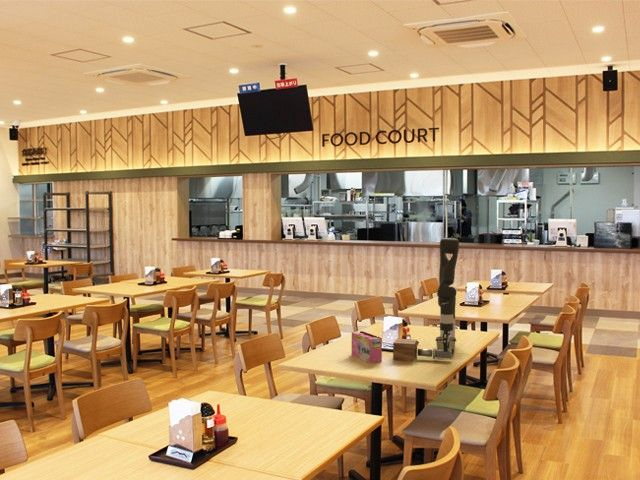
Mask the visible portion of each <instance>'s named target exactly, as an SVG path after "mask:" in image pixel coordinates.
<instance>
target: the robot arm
mask: <svg viewBox="0 0 640 480" xmlns="http://www.w3.org/2000/svg"><path fill="white" fill-rule="evenodd" d="M459 249H460V242H459V239H458V238H454V237H453V238H451V237H443V238H440V242H439V257H440V258H439V275H438V277H439V282H438V283H439V286H438V288H437V293H436V295H437V303H438V306H439V308H440V309H439V310H440V313H439V315H440V316H439V332H440V333H439V337H440V336H443V345H444V352H447V351H448V348H449V341H450V337H454V338H456V303H457V300H456V299H457V288H456V287H454V286H452V285H454V283H455V278H456V277H455V273H456V266H457V262H458V257H459ZM448 254H449V255H452V256H451V258H450V259H449V258H448V256H447V255H448ZM444 342H445V343H444Z"/></svg>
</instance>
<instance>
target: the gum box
mask: <svg viewBox="0 0 640 480" xmlns="http://www.w3.org/2000/svg"><path fill="white" fill-rule="evenodd" d="M382 347H383V338H381V337H379V336H377V335H374V334H371V333H368V332H366V331H363V330H360V331H359V332H353V331H351V356H354V357H356V358H358V359H361V360H363V361H365V362H367V363H370V364H373V363H381V362H382V360H383V357H382V356H383V354H382V353H383V351H382V350H383V348H382Z"/></svg>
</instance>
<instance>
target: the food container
mask: <svg viewBox="0 0 640 480" xmlns="http://www.w3.org/2000/svg"><path fill="white" fill-rule="evenodd" d="M434 342H436V349H438V350H444V345H443V336H440V335H439V336H437V337H436V338H435V341H434ZM456 342H457V338H456V337H455V338H454V337H450V341H449V348H448V350H452V356H454V355H455V348H456ZM444 343H445V342H444Z"/></svg>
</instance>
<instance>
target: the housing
mask: <svg viewBox="0 0 640 480" xmlns="http://www.w3.org/2000/svg"><path fill="white" fill-rule="evenodd" d="M417 358H418V339H414V338H413V339H411V338H409V339H407V338H406V339H405V338H396V339H395V340H394V341H393V344H392V361H398V362H400V361H401V362H403V361H404V362H413V363H414V362H415V361H416V360H417Z"/></svg>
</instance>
